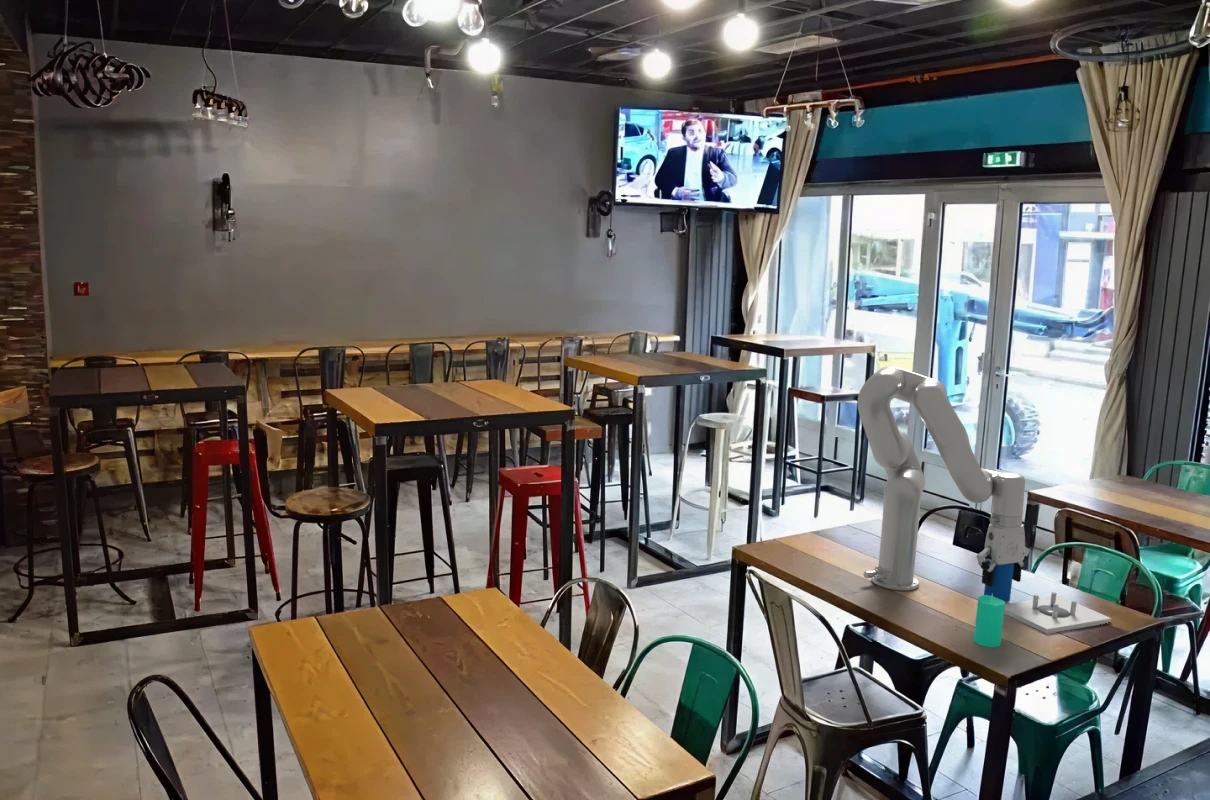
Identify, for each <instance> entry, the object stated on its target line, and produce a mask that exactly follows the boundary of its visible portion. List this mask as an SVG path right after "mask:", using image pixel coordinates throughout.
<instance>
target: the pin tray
mask: <svg viewBox="0 0 1210 800" xmlns="http://www.w3.org/2000/svg"><path fill="white" fill-rule="evenodd" d="M1039 597H1040V596H1039V595H1038V594H1034V595H1033V597H1032V598H1033V599H1030V600H1029V599H1028V600H1023V601H1015V602H1007V603H1005V610H1004V615H1007V616H1009V617H1011V618H1013V619H1014V620H1017V621H1019V622H1022V623H1024V624H1025V625H1027V626H1030V627H1032V628H1034V629H1035V630H1038V631H1040V632H1042V633H1044V634H1047V635H1048V634H1053V633H1059V631H1060V632H1064V631H1065V630H1066V631H1070V630H1071V629H1072V630H1077V629H1083V628H1087V627H1094V626H1100V624H1101V625H1105V623H1107V624H1109V623H1108V622H1111V623H1112V617H1109V616H1107V615H1105V614H1102V613H1100V612H1098V611H1096V610H1093V609H1091V608H1089V607H1086V606H1084V605H1082V604H1079V603H1078V602H1077V601H1076V600H1070V599H1068V598H1066V597H1063V596H1061V595H1057V592H1054V591H1052V592H1051V595H1050V597H1049V596H1048V597H1042V598H1039ZM1072 630H1071V631H1072ZM1066 631H1065V632H1066Z"/></svg>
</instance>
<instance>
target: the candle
mask: <svg viewBox="0 0 1210 800" xmlns="http://www.w3.org/2000/svg"><path fill="white" fill-rule="evenodd" d="M976 604H977V605H976V606H977V607H976V615H975V625H974V633H973V641H974V642H975V644H976V645H977V644H978V645H981V646H983V647H988V648H998V647H1000V646H1001V643H1002V635H1003V634H1002V633H1003V626H1004V625H1003V624H1004V617H1005V613H1004V610H1005V604H1006V603H1005V601H1003V600H1001V599H998V598H996V597H993V594H992V596H990V595H984V594H983V595H982V594H981V595H979V596H978V598H977V603H976Z"/></svg>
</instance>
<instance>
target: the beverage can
mask: <svg viewBox="0 0 1210 800" xmlns="http://www.w3.org/2000/svg"><path fill="white" fill-rule="evenodd" d="M991 559H992V558H991ZM990 564H991V563H990V562H989V563H988V566H989V565H990ZM1013 569H1014V563H1011V564H1005V565H997V564H996V565H995V567H994V568H993V570H992V572H993V573H994V574H993V585H992V586H988V585H986V584H984V590H983V595H990V596H992V594H993V597H996V598H998V599H1001V600H1003V601H1005V604H1008V603H1010V600H1011V595H1012V586H1013V585H1012V584H1013V580H1012V578H1013Z"/></svg>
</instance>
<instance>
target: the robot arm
mask: <svg viewBox="0 0 1210 800" xmlns="http://www.w3.org/2000/svg"><path fill="white" fill-rule="evenodd" d="M947 396H948V392H947V389H946V387H945V385H944V384H943V383H942V381H939V380H937V379H934V378H931V377H929V376H925V375H923V374H919V373H916V372H912V371H909V370H907V369H904V368H901V367H897V366H892V365H891V366H890V365H889V366H885V367H882V368H880V369H878V370H877V371H876V372H874V373H873V374H872V375H870V377H869V378H868V379H867V380H866V382H865V383H863V385H862V386H861V388H860V390H859V392H858V396H857V409H858V411H857V412H858V414H859V417H860V420H861V421H860V422H861V423H862V426H863V430H864V432H865V435H866V438H867V440H868V443H869V446H870V449H871V452H872V457H873V458H874V461H875V462H876V463H877V464H878V465H879V466H880V467H881V468H883V469H884V470H885V473H886V475H887V478H888V479H887V480H886V483H885V485H884V488H883V499H882V501H883V505H882V507H883V508H882V520H881V521H882V522H881V533H880V543H879V545H880V546H879V555H878V556H879V557H878V565H877V564H876V565H875V567H874V569H872V570H865V571H864V572H863V577H864V578H865V579H871V582H873V584H874V585H876V584H877V585H876V586H878V587H882V588H884V589H888V590H892V591H894V590H895V591H903V592H904V591H905V592H906V591H913V590H915V589H917V588H919V586H920V581H919V580H918V579H917V577H914V575H915V565H916V556H917V544H918V537H919V536H918V533H919V522H920V509H921V500H922V494H923V492H924V489H925V485H926V484H925V483H926V479H925V476H924V473H923V470H922V467H921V465H920V461H919V458H918V456H917V454H916V451H915V448H914V445H913V443H912V441H911V439H910V437H909V435H907V434H906V433H905V432H904V431H902V430H899V427H898V425H897V421H896V418H895V416H894V413H893V411H892V409H891V402H892V401H893V399H897V400H898V401H899V400H900V401H903V402H906V403H908V404H912V405H913V407H914V409H915V411H916V412H917V414H918V416H919V418H920V420H921V422H922V423H923V424H924V426H925V428H926V429H927V430H926V431H928V433H929V435H930V437H931V439H932V440H933V442H934V444H935V446H936V449H937V451H938V453H939V454H940V455H939V456H940V457H941V458H942V460H943V462H944V465H945V467H946V469H947V470H948V472H949V474H950V476H951V478H952V480H953V481H954V483H955V486H956V487H957V489H958V491H960V493H961V495H962V496H963V498H965V500H967V501H968V502H970V503H973V504H982V503H984V502H986V501H988V500H989V499H990V497H991V498H992V500H991V511H990V518H989V522H990V523H989V525H988V528H987V532H986V536H985V542H984V549H983V550H982V551H981V552H979V553H978V554H977V555H976V559H977V563H978V565H979V566H980V569H982V571H981V572H982V573H981V583H982V584H983V585H985V584H986V585H988V586H992V585H993V574H994V573H993V572H992V570H993V568H994V567H995V565H996V564H997V565H1005V564H1011V563H1014V569H1013V578H1012V581H1014V582H1015V581H1016V582H1018V583H1019V582H1021V580H1022V578H1021V577H1022V569H1023V567H1025V564H1024V563H1025V562H1026V561H1027V559H1028V555H1029V554H1030V551H1031V550H1030V548H1028V547H1026V536H1025V535H1026V533H1025V528H1024V524H1023V515H1024V514H1023V512H1024V501H1025V500H1024V499H1025V489H1026V480H1025V477H1024V476H1023V475H1021V474H1019V473H1017V472H1016V473H1015V472H1007V471H1006V472H1005V471H1003V472H1000V471H995V470H990V469H986V468H982V467H981V466H980V464H979V462H978V461H977V458H976V456H975V454H974V452H973V449H972V446H971V443H970V442H971V441H970V439H969V435H968V431H967V429H966V427H965V426H964V424H963V422H962V421H961V419H960V417H959V416H958V414H957V411H956V410H955V409H954V407H953V406H952V405H953V404H952V403H951V402H950V400H949V398H948V397H947ZM991 558H992V559H991ZM989 562H990V563H991V564H990V565H989V566H988V563H989Z"/></svg>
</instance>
